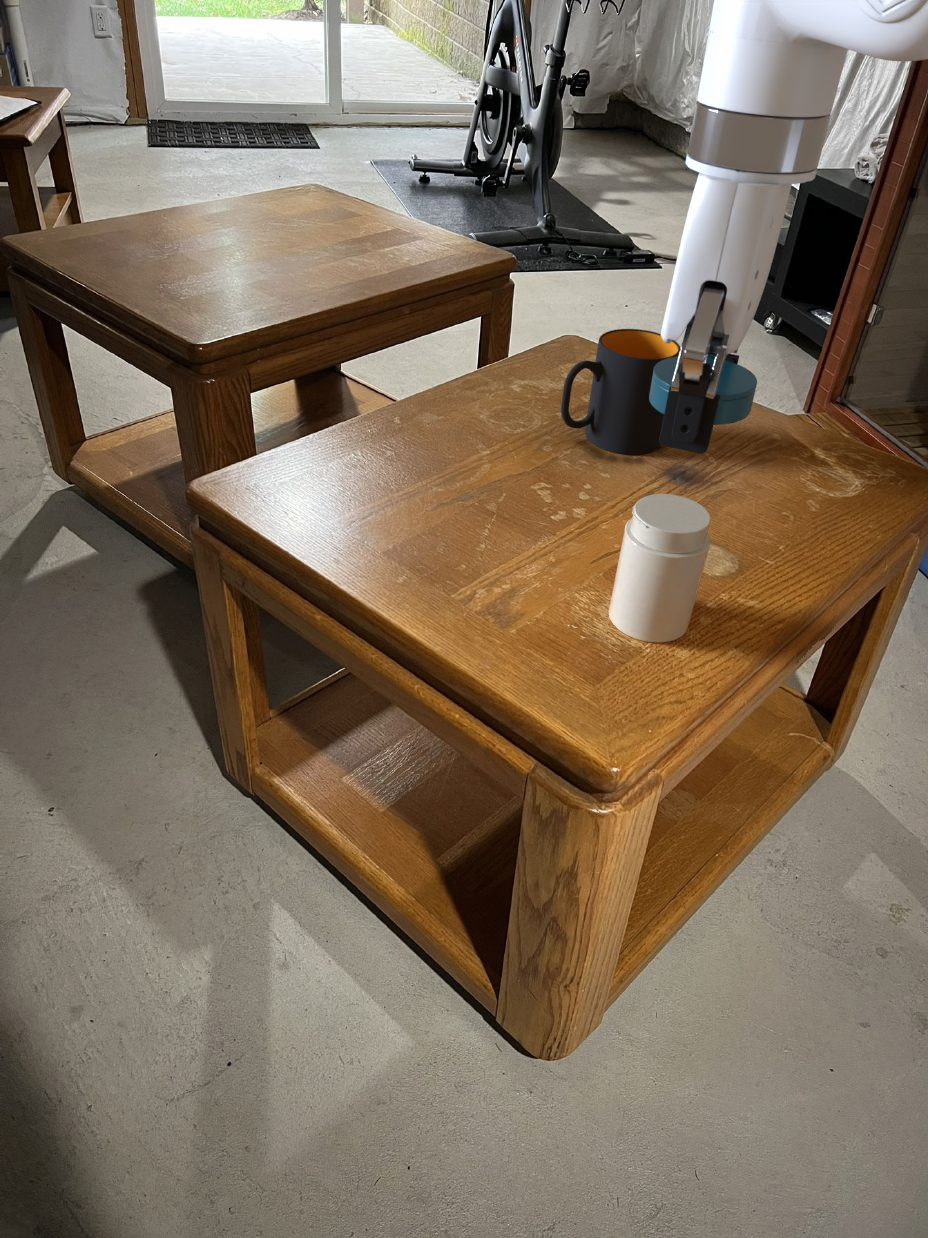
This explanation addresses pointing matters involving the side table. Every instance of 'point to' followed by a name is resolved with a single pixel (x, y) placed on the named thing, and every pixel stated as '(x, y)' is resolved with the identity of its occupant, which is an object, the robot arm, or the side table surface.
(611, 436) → the mug
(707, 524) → the jar
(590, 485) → the side table surface
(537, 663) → the side table surface
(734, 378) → the jar lid
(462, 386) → the side table surface
